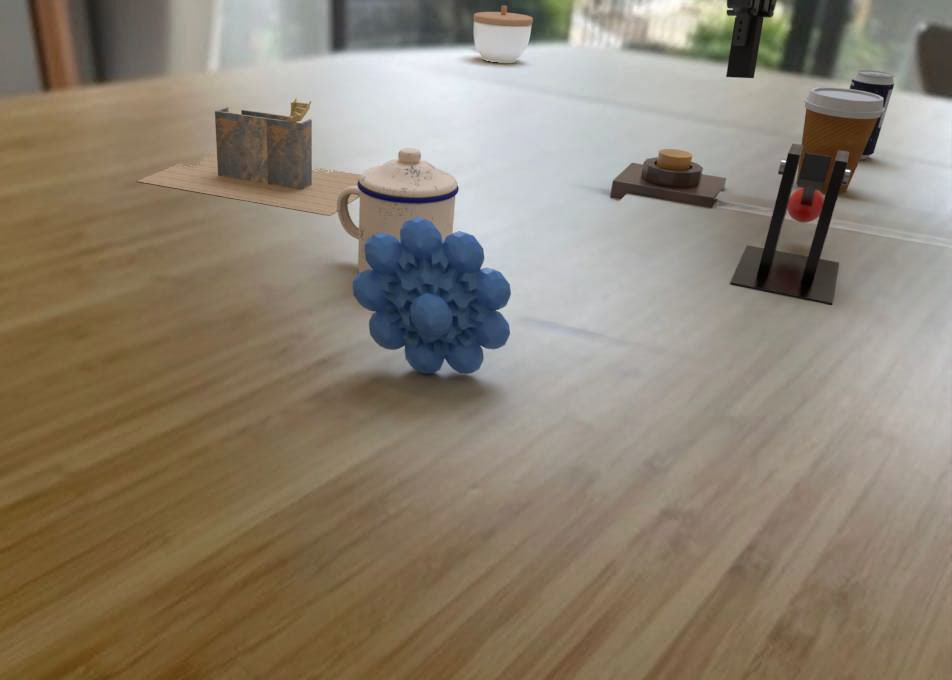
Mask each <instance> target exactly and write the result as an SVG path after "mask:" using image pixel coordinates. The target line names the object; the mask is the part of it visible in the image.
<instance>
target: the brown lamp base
mask: <svg viewBox="0 0 952 680" xmlns="http://www.w3.org/2000/svg"><path fill="white" fill-rule="evenodd" d="M657 158H658V156H655V157H649V158H646V159H645V160H644V161H643V163H638V162H637V163H636V162H631V163H630V164H628V165H627V167H625V168H624V169H623V170H622V171H621V172H620V173H619V174H618V175H617V176H616V177H615V178H614V179H612V183H611V188H610V189H611V190H610V195H609V198H612V199H617V200H622V199H623V198H624V197H625V196H627V194H630V195H636V196H641V197H646V198H652V199H653V198H654V199H659V200H663V201H664V200H665V201H671V202H675V203H679V204H680V203H682V204H687V205H692V206H698V207H703V208H709V209H712V208H713V207H714V205H715V203H716V202H717V200H718V199H717V197H716V196H717V195H718V193H719V192H721V193H722V192H723V190H724V189H725V187H726V182H727V177H722V176H716V175H710V174H704V173H703V171H704V167H703V166H702V165H700V164H698V163H697V162H694V161H691V165H690V169H688V170H673V169H667V168H663V167H660V166H657V165H656V164H657Z"/></svg>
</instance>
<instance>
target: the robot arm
mask: <svg viewBox="0 0 952 680" xmlns="http://www.w3.org/2000/svg"><path fill="white" fill-rule="evenodd" d="M777 1H778V0H726V7H727V9H726V15H727V16H728V17H734V22H733V30H732V36H731V43H730V48H729V56H728V60H727V61H728V63H727V67H726V68H727V69H726V75H725V77H726V78H736V79H737V78H738V79H754V78H755V73H756V67H757V61H758V56H759V55H758V54H759V49H760V44H761V36H762V31H763V26H764V25H763V24H764V18H765V19H766V18H767V19H768V18H770V19H771V18H772V17H774V14H775V8H776V6H777Z"/></svg>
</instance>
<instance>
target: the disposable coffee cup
mask: <svg viewBox="0 0 952 680" xmlns="http://www.w3.org/2000/svg"><path fill="white" fill-rule="evenodd" d="M807 95H808V96H807V97H805V98H804V100H803V101H804V103H805V104H804V107H805V115H804V123H803V129H802V137H801V138H802V139H801V144H800V145H803V150H802V153H801V157H800V161H799V165H798V169H797V173H796V182H795V184H796V185H797V184H798V179H799V175H800V172H801V168H802V164H803V161H804V157H805V153H811V154H817V155H824V156H831V160H830V164H829V167H828V171H827V175H826V178H825V182H824V185H823V189H822V191H820V192H821V193H822V194H826V191H827V187H828V184H829V180H830V177H831V173H832V170H833V166H834V163H835V159H836V155H837V152H838V150H840V151H847V152H849V157H848V162H847V166H846V169H850V170H851V172H850V176H849V179H848V183H847V185H842V184H841V187H840V190H839V194H844V193H846V192H847V191H848V188H849V185H850V183H851V181H852V179H853V177H854V174H855V172H856V169H857V167H858V165H859V163H860V161H861V159H860V158H861V156H862V154H863V151H864V149H865V147H866V145H867V142H868V140H869V138H870V135H871V133H872V131H873V129H874V126H875V124H876V121H877V119H878V117H880V116H881V113H883V112H884V110H885V109H884V108H883V101H884V98H883V97H881V96H879V95H877V94H873V93H869V92H865V91H859V90H853V89H850V88H844V87H832V86H831V87H830V86H827V87H826V86H820V87H812V88H811V89H810V91H809V93H808V94H807Z"/></svg>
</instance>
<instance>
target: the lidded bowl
mask: <svg viewBox="0 0 952 680" xmlns="http://www.w3.org/2000/svg"><path fill="white" fill-rule="evenodd" d="M533 21H534V18H533V16H530V15H528V14H527V15H526V14H521V13H516V12H515V13H513V12H508V5H501V7H500V11H480V12H475V13H474V14H473V30H472V32H473V34H472V35H473V42H474V46H475V48H476V51H477V52H478V53H479V55H480V56H481V58H482V60H483V59H485V60H488V61H493V62H498V63H497V64H514V63H516V62H517V60H518V59H519V58H521V56H523V54H524V53H525V52H526V49H527V48H528V45H529V42H530V39H531V33H532V25H533V23H534V22H533Z"/></svg>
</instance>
